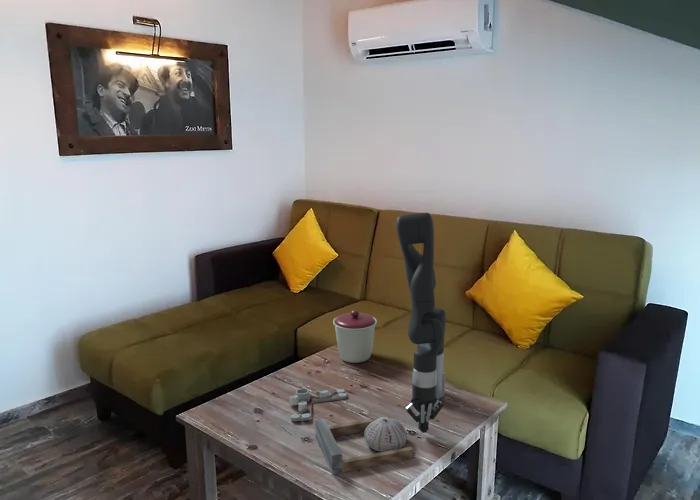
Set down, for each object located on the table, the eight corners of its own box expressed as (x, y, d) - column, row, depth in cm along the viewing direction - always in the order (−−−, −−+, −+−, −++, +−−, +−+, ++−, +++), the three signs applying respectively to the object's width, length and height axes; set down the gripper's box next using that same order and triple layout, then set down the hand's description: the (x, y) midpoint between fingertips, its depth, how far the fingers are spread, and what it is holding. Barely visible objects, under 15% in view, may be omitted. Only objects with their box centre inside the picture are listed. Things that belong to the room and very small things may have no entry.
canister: (324, 359, 238) (323, 311, 233) (352, 345, 251) (352, 300, 246) (358, 371, 226) (357, 321, 221) (385, 356, 240) (385, 309, 235)
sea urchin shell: (414, 438, 180) (414, 416, 178) (395, 461, 168) (395, 437, 166) (376, 427, 186) (376, 405, 184) (356, 448, 175) (356, 425, 173)
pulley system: (269, 415, 196) (302, 427, 187) (269, 402, 195) (301, 413, 186) (321, 387, 217) (352, 397, 208) (320, 376, 217) (352, 385, 207)
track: (389, 424, 188) (389, 407, 187) (413, 458, 169) (413, 440, 168) (315, 437, 181) (315, 420, 180) (332, 474, 162) (331, 455, 161)
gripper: (438, 373, 182) (437, 422, 186) (400, 379, 178) (399, 428, 182) (449, 383, 175) (447, 434, 179) (409, 389, 171) (408, 441, 175)
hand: (423, 431), depth 180 cm, fingers closed
